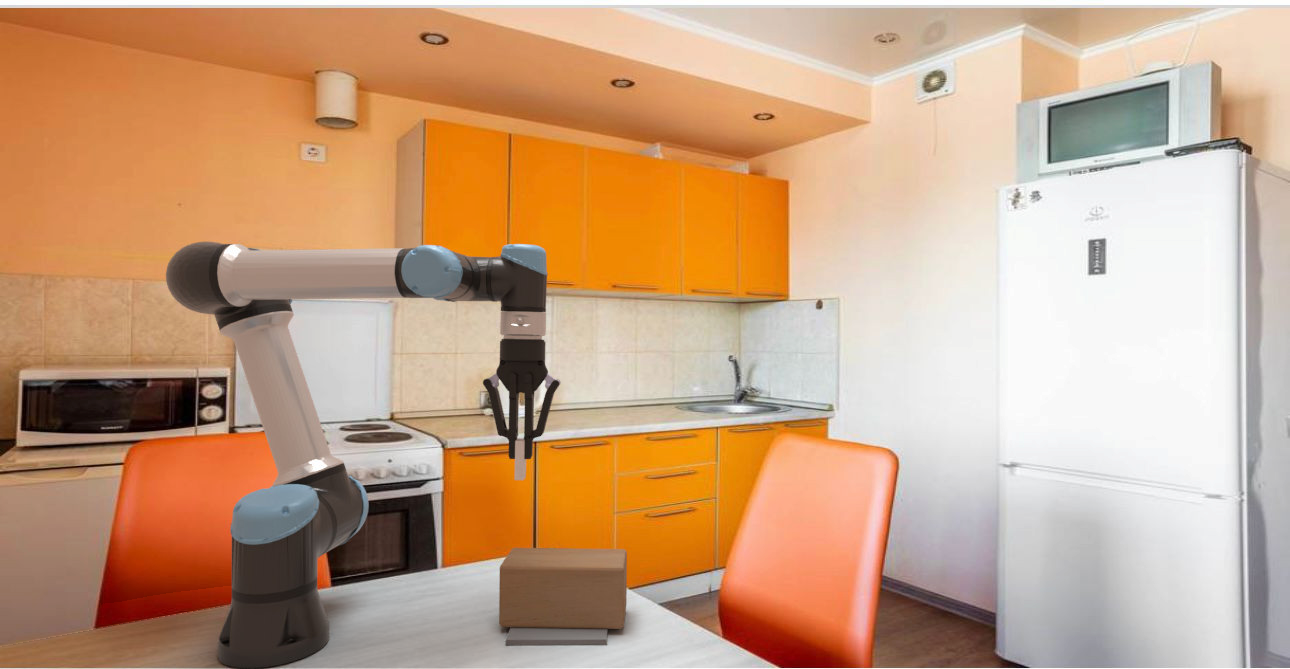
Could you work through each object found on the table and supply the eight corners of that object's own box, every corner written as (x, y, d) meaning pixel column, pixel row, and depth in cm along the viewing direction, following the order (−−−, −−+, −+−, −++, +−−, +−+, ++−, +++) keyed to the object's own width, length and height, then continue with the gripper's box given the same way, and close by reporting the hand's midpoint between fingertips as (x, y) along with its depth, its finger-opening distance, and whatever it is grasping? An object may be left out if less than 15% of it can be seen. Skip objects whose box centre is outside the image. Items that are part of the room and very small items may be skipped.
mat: (505, 645, 110) (505, 639, 110) (524, 596, 130) (524, 592, 130) (606, 644, 111) (606, 639, 111) (609, 596, 131) (609, 592, 131)
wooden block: (511, 604, 125) (626, 606, 124) (498, 628, 115) (623, 630, 114) (511, 546, 125) (626, 548, 124) (498, 565, 115) (623, 567, 114)
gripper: (479, 337, 116) (476, 482, 116) (559, 338, 116) (556, 483, 117) (488, 336, 124) (485, 473, 124) (563, 338, 124) (561, 474, 124)
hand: (520, 478), depth 120 cm, fingers closed
